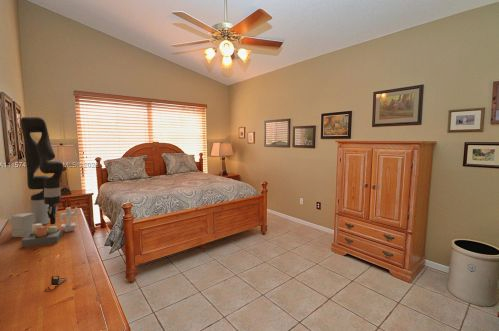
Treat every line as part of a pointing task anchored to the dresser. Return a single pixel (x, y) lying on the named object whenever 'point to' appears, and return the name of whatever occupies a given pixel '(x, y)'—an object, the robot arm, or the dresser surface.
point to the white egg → (35, 228)
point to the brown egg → (41, 231)
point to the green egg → (52, 229)
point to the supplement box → (22, 224)
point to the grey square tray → (41, 239)
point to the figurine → (68, 219)
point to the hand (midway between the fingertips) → (52, 224)
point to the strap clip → (57, 280)
